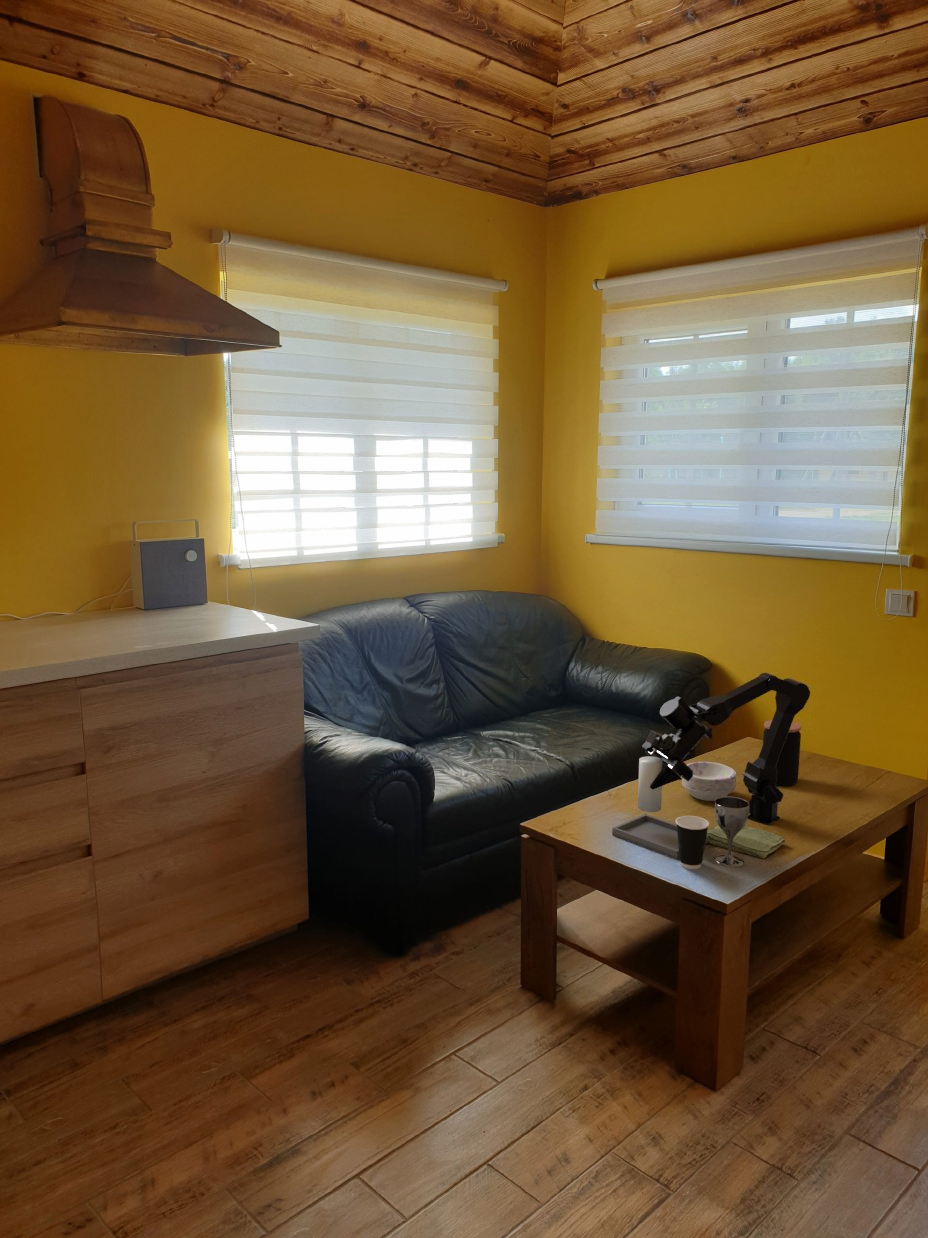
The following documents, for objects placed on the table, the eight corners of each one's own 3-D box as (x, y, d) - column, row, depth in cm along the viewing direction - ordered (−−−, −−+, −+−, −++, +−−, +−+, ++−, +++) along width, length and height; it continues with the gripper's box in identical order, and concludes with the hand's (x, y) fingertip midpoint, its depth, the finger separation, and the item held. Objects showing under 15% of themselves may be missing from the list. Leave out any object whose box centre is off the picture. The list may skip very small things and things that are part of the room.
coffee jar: (767, 773, 288) (770, 717, 284) (802, 780, 281) (805, 723, 278) (755, 783, 279) (759, 725, 276) (791, 790, 273) (795, 731, 270)
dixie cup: (666, 862, 225) (668, 819, 223) (691, 855, 229) (693, 813, 227) (689, 874, 218) (691, 830, 216) (714, 867, 222) (716, 824, 220)
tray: (708, 843, 236) (709, 836, 235) (676, 859, 226) (677, 851, 226) (644, 820, 250) (645, 814, 250) (612, 835, 241) (612, 827, 241)
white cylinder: (663, 805, 243) (665, 758, 240) (658, 813, 237) (659, 765, 235) (641, 802, 245) (642, 755, 243) (635, 809, 240) (636, 762, 238)
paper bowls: (727, 809, 259) (729, 782, 257) (674, 799, 266) (675, 773, 265) (740, 792, 272) (742, 766, 270) (689, 783, 279) (691, 758, 278)
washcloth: (766, 862, 226) (766, 850, 225) (699, 843, 237) (700, 831, 236) (787, 845, 235) (787, 833, 235) (722, 828, 247) (722, 816, 246)
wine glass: (747, 868, 221) (750, 809, 219) (713, 866, 223) (716, 807, 220) (744, 855, 229) (747, 797, 226) (711, 852, 230) (714, 795, 228)
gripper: (649, 711, 247) (610, 754, 246) (683, 730, 229) (642, 777, 229) (675, 736, 251) (637, 779, 250) (710, 758, 233) (669, 804, 232)
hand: (645, 784), depth 240 cm, fingers closed on white cylinder, 6 cm apart
